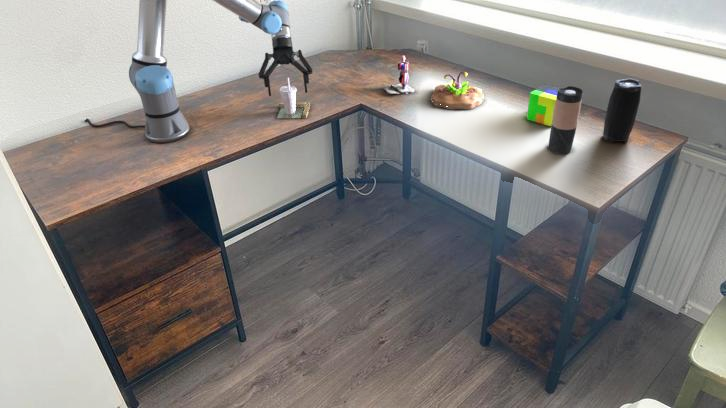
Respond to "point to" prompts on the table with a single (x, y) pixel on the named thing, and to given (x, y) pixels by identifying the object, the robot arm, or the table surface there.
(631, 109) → the portable speaker
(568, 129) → the travel mug
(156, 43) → the robot arm
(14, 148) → the table surface
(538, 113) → the puzzle toy
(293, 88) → the smoothie
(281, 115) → the corner guide
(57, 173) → the table surface
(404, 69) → the statue
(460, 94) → the plant
